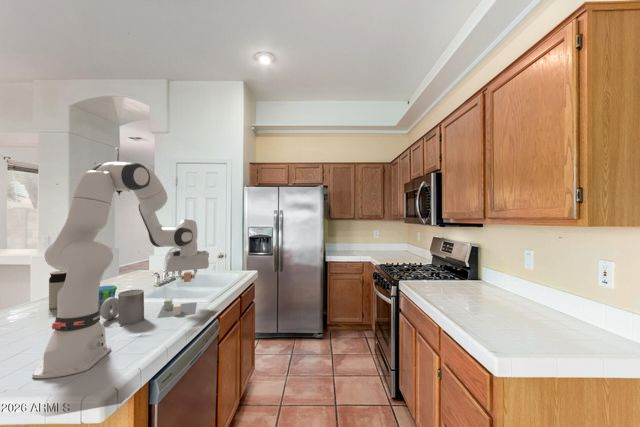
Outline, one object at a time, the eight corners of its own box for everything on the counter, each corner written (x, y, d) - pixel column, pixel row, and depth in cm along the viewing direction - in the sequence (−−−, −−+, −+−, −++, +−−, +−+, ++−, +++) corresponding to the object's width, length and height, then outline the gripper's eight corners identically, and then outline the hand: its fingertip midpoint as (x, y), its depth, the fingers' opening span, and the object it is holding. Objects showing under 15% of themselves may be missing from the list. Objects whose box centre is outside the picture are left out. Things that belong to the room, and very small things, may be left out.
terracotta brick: (190, 281, 154) (190, 273, 154) (183, 282, 153) (183, 273, 153) (191, 279, 159) (191, 271, 159) (185, 279, 158) (185, 271, 159)
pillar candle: (128, 319, 140) (128, 286, 140) (149, 319, 139) (148, 286, 139) (112, 327, 130) (112, 292, 130) (134, 327, 130) (134, 292, 129)
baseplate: (195, 316, 144) (195, 314, 144) (156, 320, 138) (156, 317, 138) (196, 304, 162) (196, 302, 162) (162, 307, 157) (162, 305, 157)
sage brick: (170, 309, 151) (171, 300, 151) (164, 309, 150) (164, 301, 150) (172, 305, 156) (172, 297, 156) (165, 306, 155) (165, 298, 155)
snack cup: (92, 305, 160) (92, 286, 160) (116, 302, 166) (116, 283, 166) (90, 313, 147) (90, 292, 147) (117, 309, 153) (117, 289, 153)
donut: (105, 323, 134) (105, 300, 134) (98, 323, 135) (98, 300, 135) (122, 315, 144) (122, 294, 144) (115, 315, 145) (115, 294, 145)
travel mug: (64, 308, 155) (64, 272, 155) (45, 309, 153) (45, 273, 153) (72, 304, 162) (72, 270, 162) (54, 305, 160) (54, 270, 160)
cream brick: (180, 314, 142) (180, 306, 142) (173, 315, 141) (173, 306, 141) (181, 311, 148) (181, 302, 148) (174, 311, 147) (174, 303, 147)
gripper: (207, 249, 165) (207, 275, 165) (165, 252, 153) (164, 280, 153) (210, 250, 160) (210, 277, 159) (167, 253, 148) (166, 282, 148)
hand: (187, 278), depth 156 cm, fingers closed on terracotta brick, 4 cm apart
